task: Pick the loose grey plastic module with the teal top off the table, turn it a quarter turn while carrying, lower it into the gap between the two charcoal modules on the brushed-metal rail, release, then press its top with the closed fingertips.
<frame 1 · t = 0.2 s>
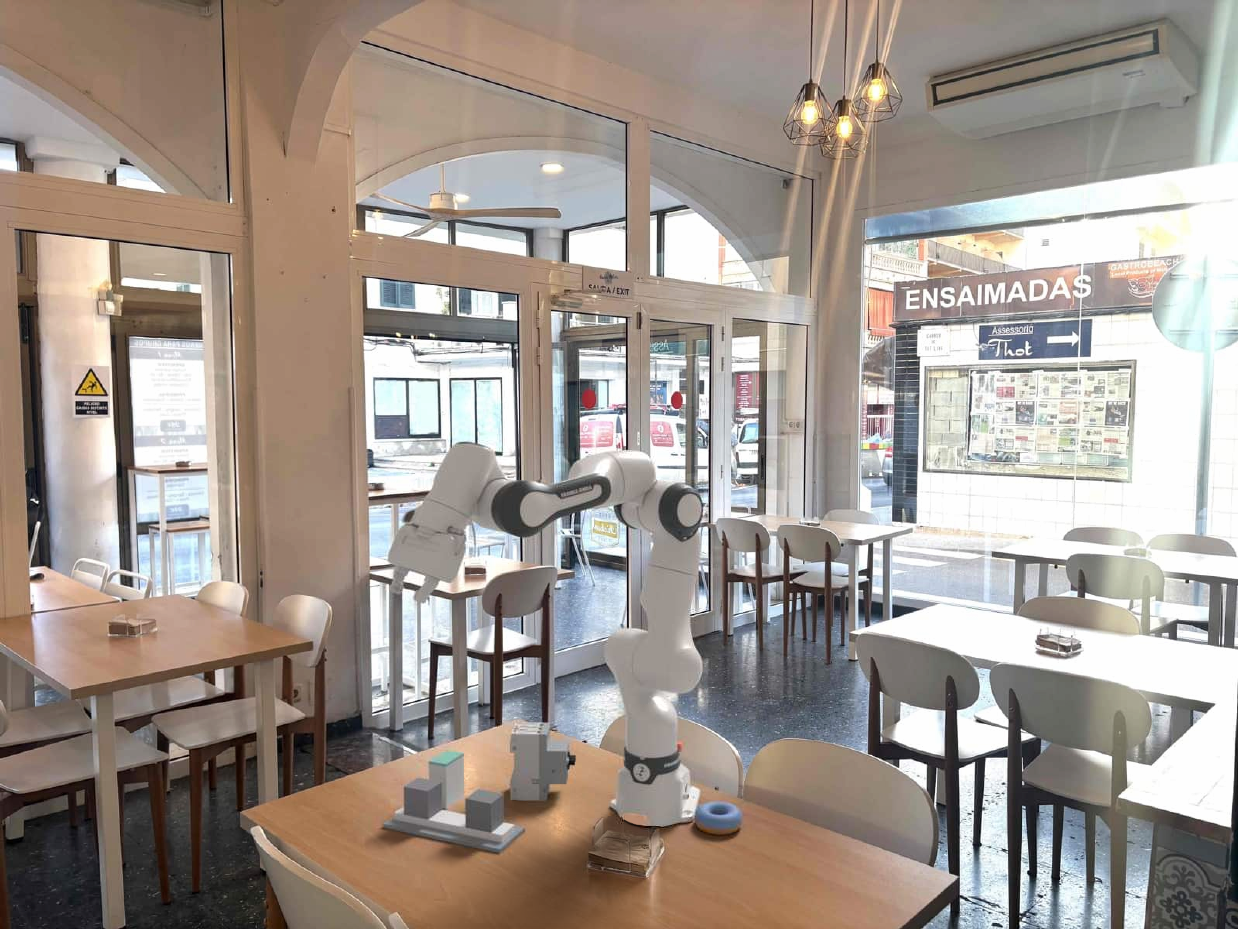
hand: (406, 597, 154), 54 cm above the table, tool tilted 30°, fingers open, 8 cm apart
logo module: (446, 801, 197), on the table
circuit breaker: (543, 794, 202), on the table
rail assembly: (453, 829, 184), on the table
doughnut: (718, 827, 186), on the table
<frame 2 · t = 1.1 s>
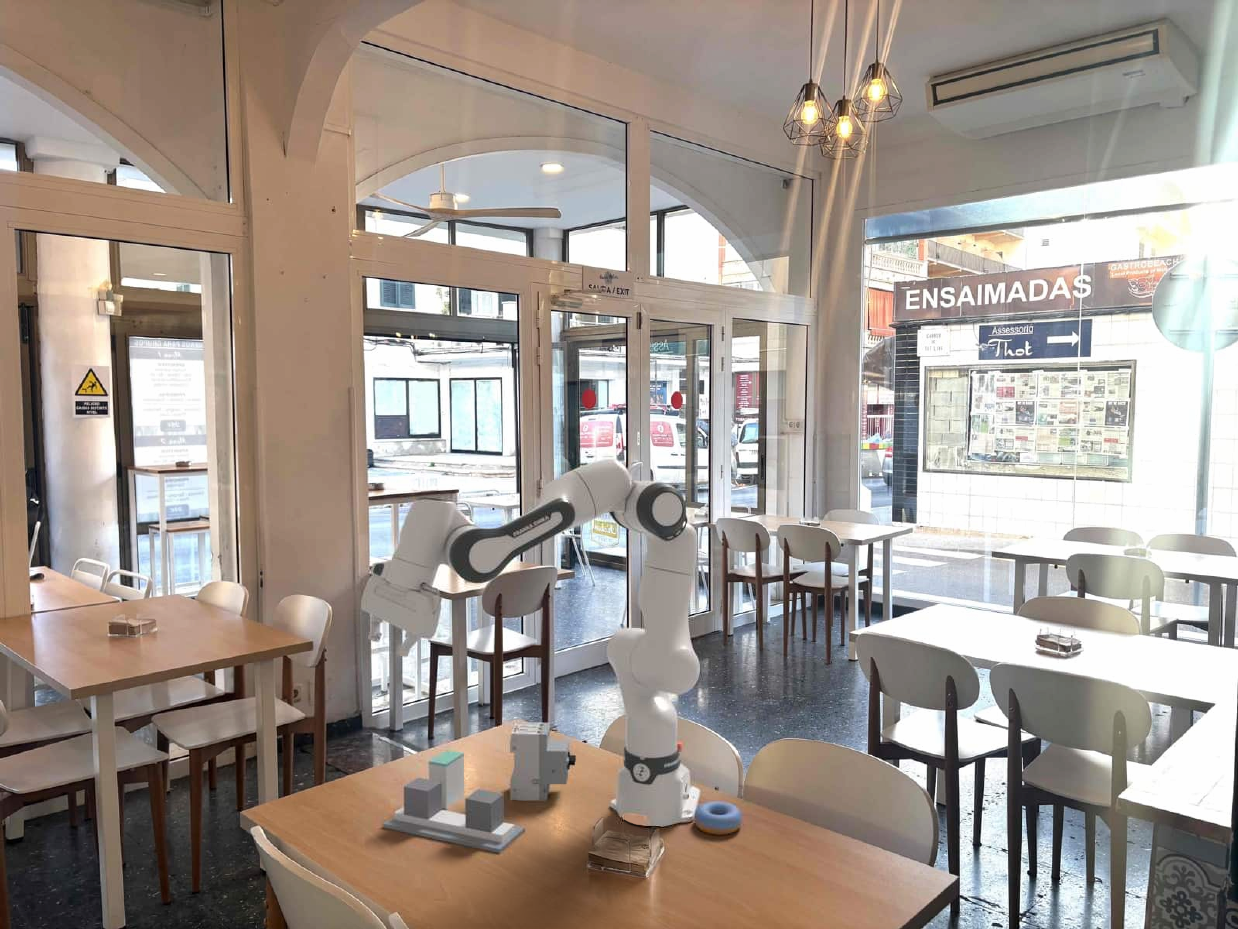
hand: (387, 648, 167), 42 cm above the table, tool tilted 20°, fingers open, 8 cm apart
nothing on the table moved.
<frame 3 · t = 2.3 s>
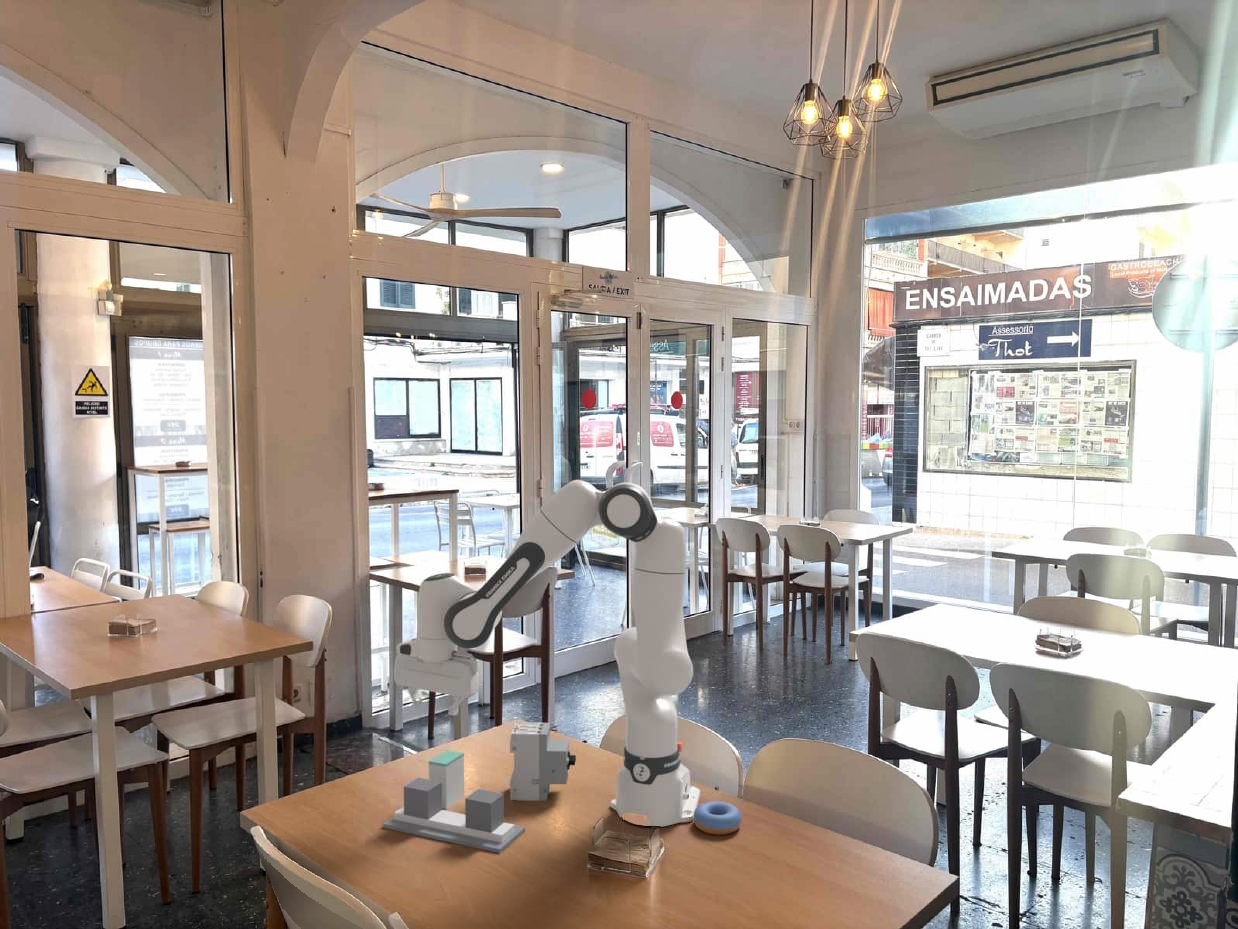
hand: (435, 710, 193), 21 cm above the table, tool pointing down, fingers open, 8 cm apart
nothing on the table moved.
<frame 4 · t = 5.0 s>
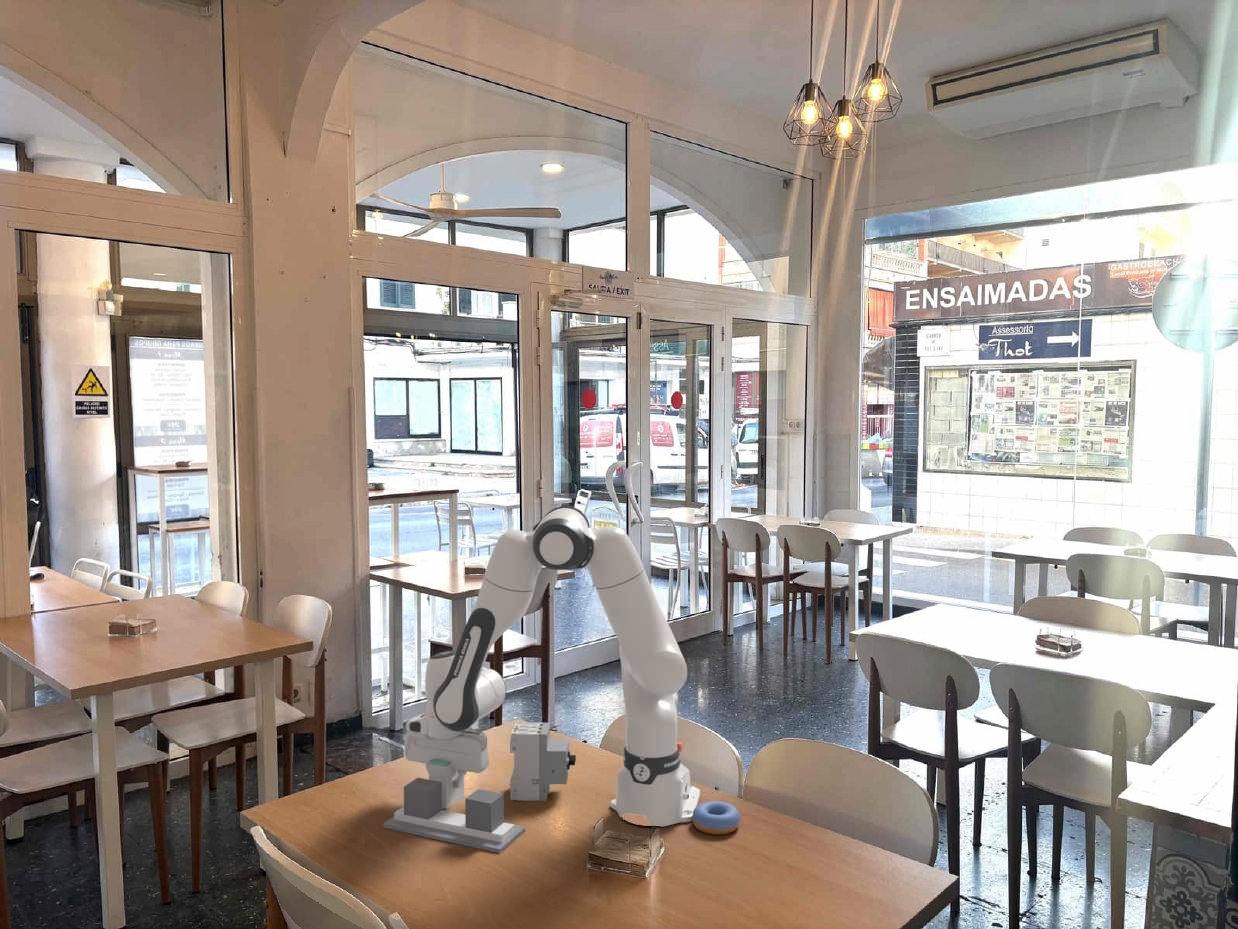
hand: (446, 785, 197), 4 cm above the table, tool pointing down, fingers closed on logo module, 4 cm apart
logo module: (446, 801, 197), on the table, touching gripper
everything else where it was.
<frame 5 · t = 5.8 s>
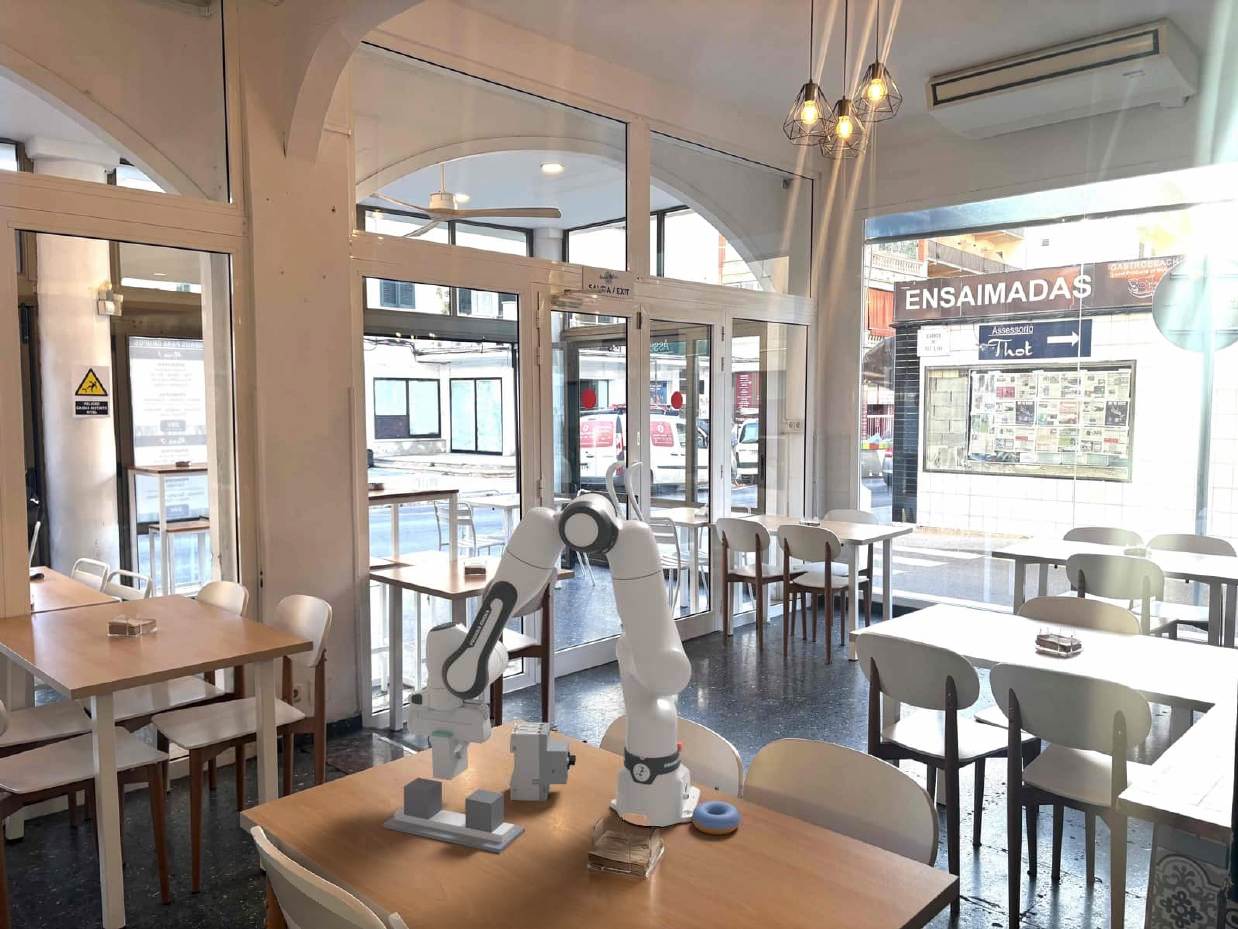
hand: (450, 756, 197), 10 cm above the table, tool pointing down, fingers closed on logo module, 4 cm apart
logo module: (450, 773, 198), point 6 cm above the table, touching gripper
everything else where it was.
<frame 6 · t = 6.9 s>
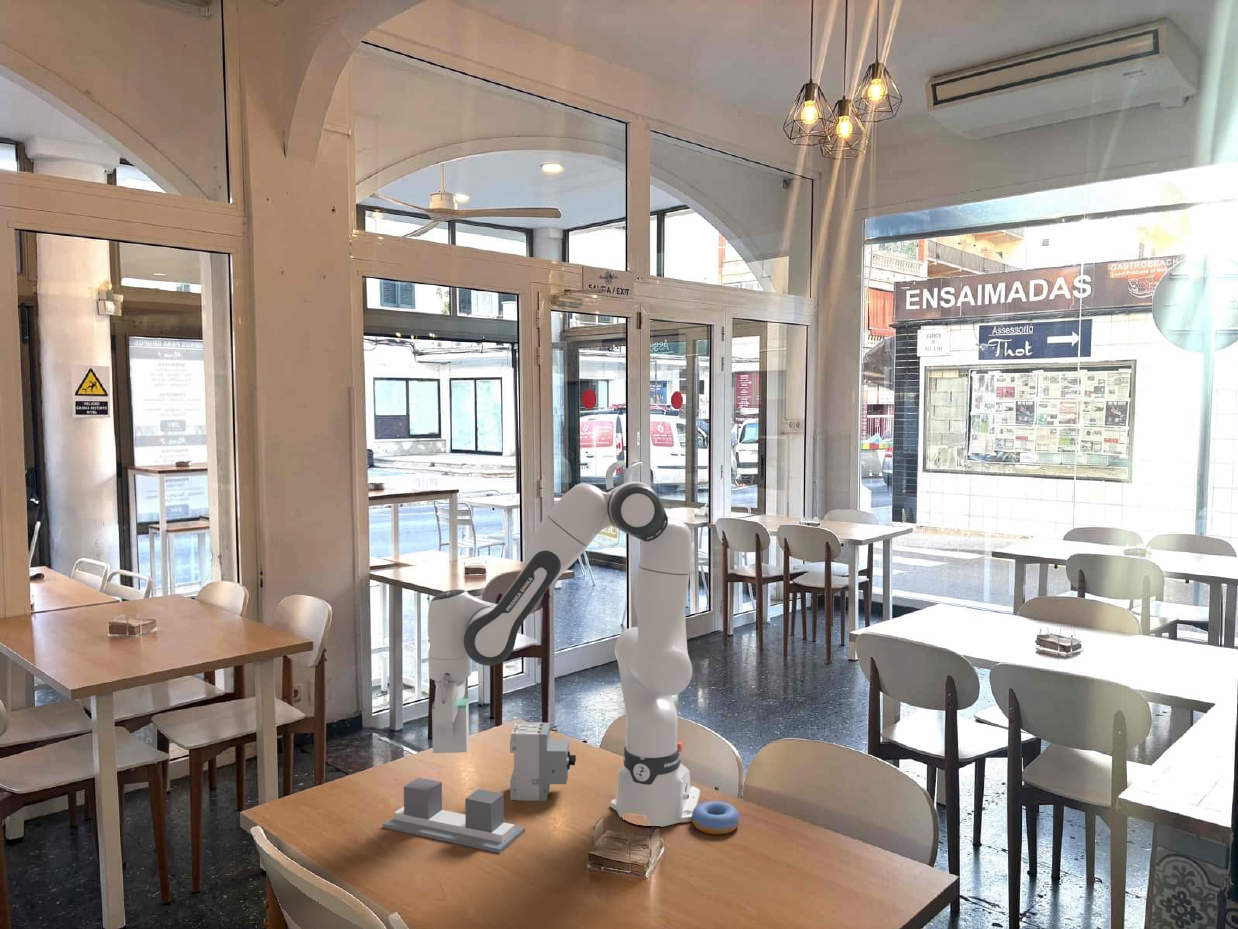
hand: (451, 732, 188), 19 cm above the table, tool pointing down, fingers closed on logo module, 4 cm apart
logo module: (451, 748, 188), point 15 cm above the table, touching gripper
everything else where it was.
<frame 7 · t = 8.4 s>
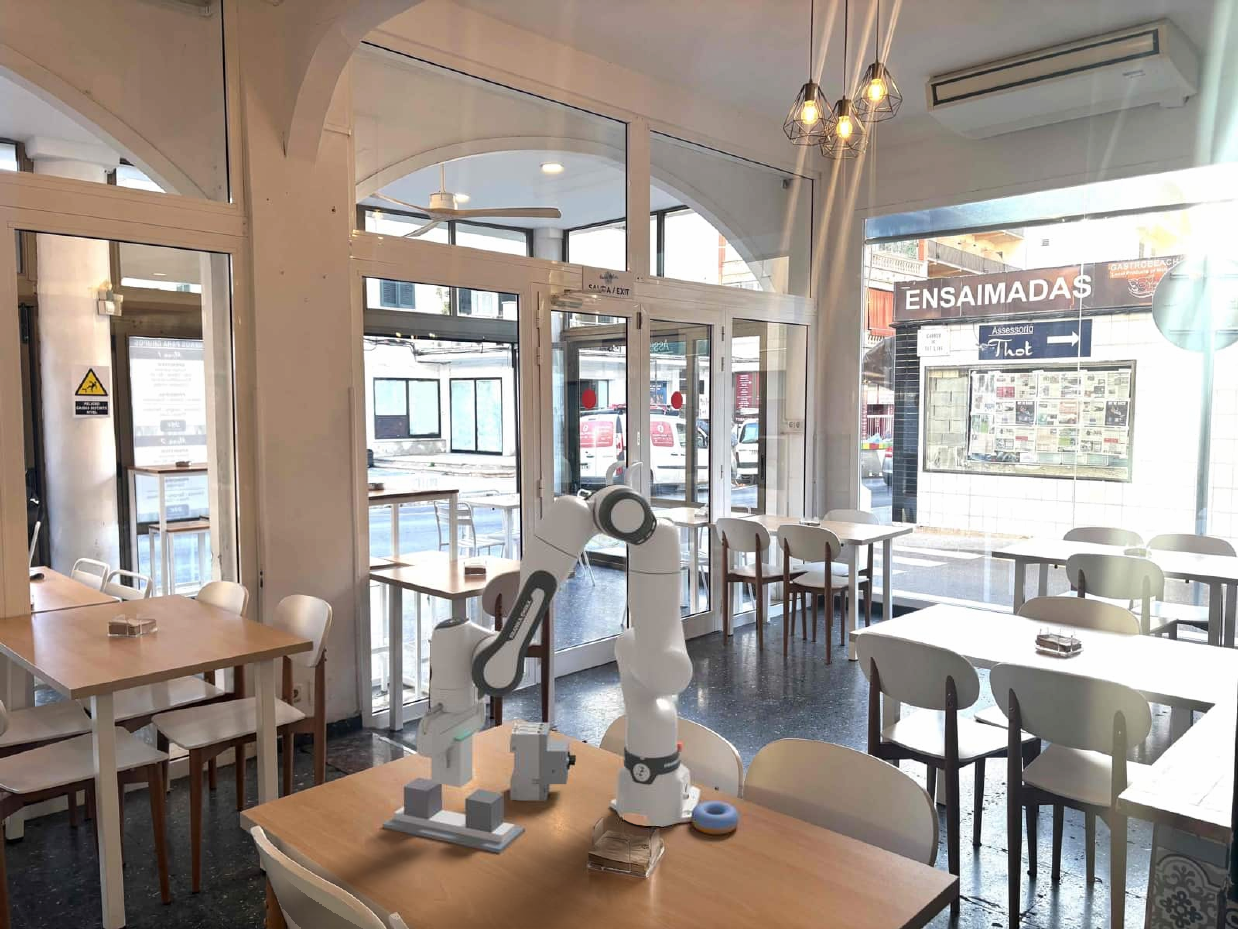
hand: (452, 763, 183), 14 cm above the table, tool pointing down, fingers closed on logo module, 4 cm apart
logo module: (451, 780, 183), point 10 cm above the table, touching gripper
doughnut: (714, 827, 186), on the table, touching arm
everything else where it was.
when the fingers open (8 cm above the table, at t = 9.9 s): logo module drops 2 cm, resting on rail assembly.
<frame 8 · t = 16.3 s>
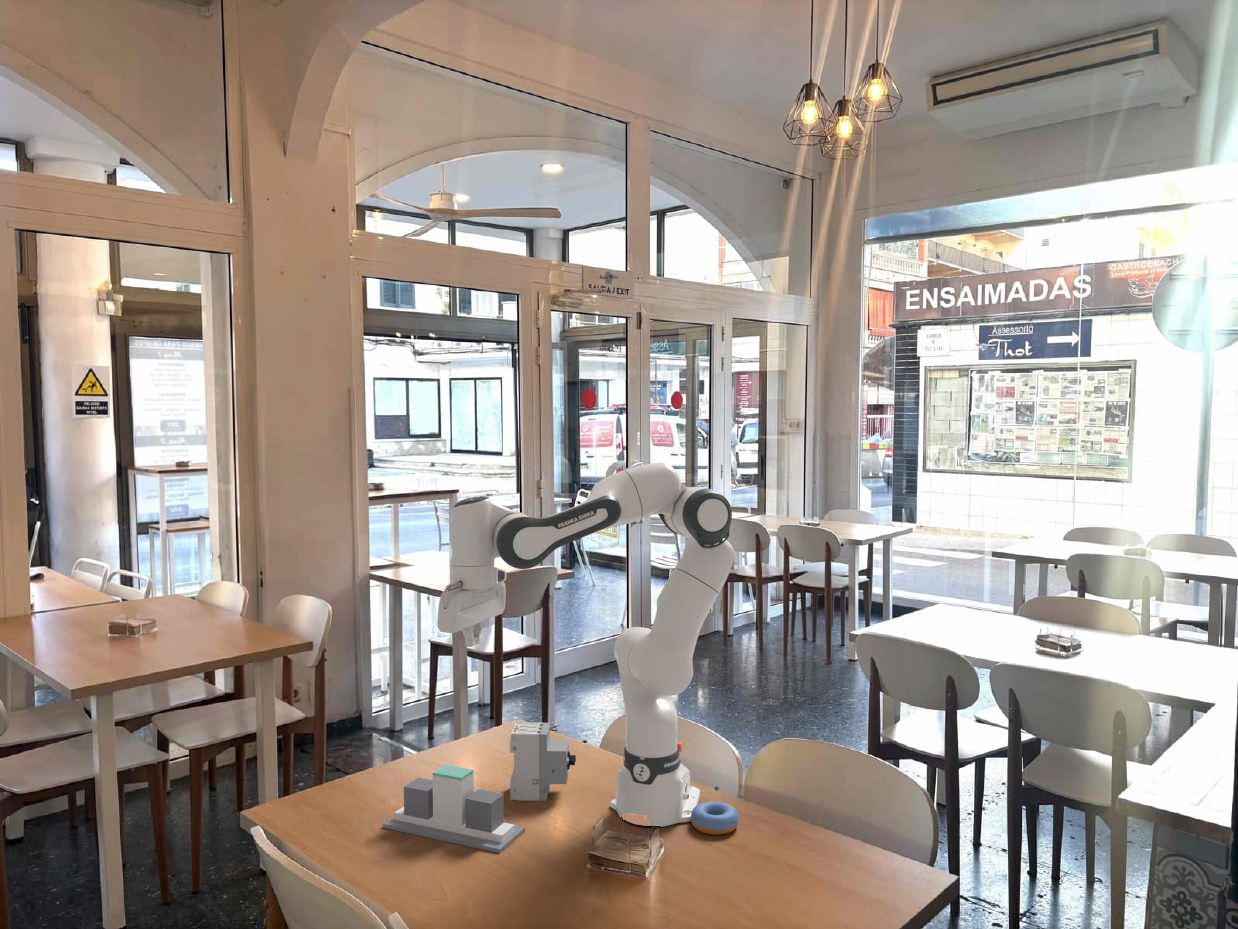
hand: (472, 645, 180), 39 cm above the table, tool pointing down, fingers closed
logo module: (453, 818, 184), point 2 cm above the table, touching rail assembly
doughnut: (714, 827, 186), on the table
everything else where it was.
at the end: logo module 0.0 cm off-centre on the rail assembly, point 2.3 cm above the rail assembly's base; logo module tilted 0°; the gripper is holding nothing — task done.
